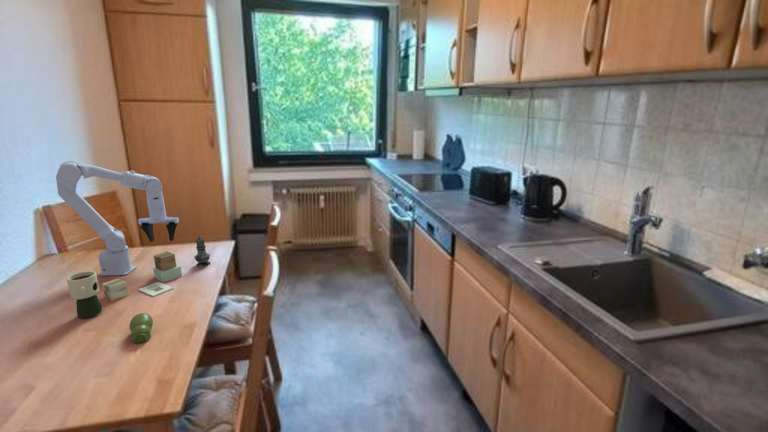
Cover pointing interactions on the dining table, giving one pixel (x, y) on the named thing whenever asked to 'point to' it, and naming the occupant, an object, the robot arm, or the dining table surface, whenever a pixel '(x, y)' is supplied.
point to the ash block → (115, 289)
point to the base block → (167, 273)
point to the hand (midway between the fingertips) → (162, 240)
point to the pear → (141, 327)
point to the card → (155, 289)
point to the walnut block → (165, 261)
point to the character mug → (85, 293)
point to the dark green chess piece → (201, 253)
